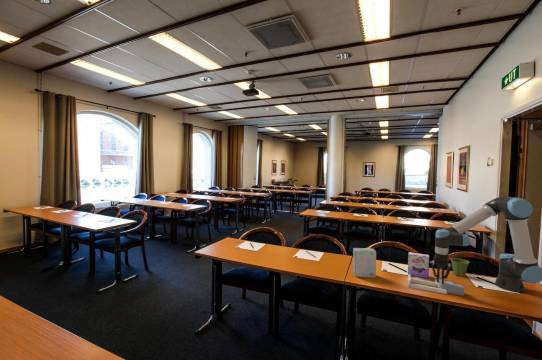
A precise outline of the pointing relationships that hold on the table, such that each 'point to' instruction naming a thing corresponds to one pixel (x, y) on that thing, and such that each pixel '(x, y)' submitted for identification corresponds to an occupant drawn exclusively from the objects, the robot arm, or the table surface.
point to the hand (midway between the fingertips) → (439, 287)
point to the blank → (453, 288)
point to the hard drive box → (364, 262)
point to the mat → (444, 281)
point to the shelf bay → (424, 286)
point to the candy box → (418, 265)
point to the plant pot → (459, 266)
